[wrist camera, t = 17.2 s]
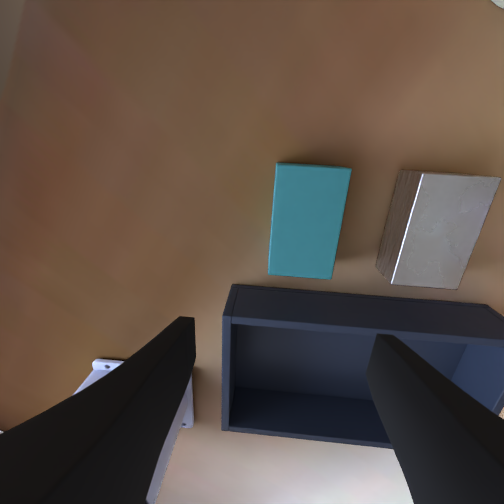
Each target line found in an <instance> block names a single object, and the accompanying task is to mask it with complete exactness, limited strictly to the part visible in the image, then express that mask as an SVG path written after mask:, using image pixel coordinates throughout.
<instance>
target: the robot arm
mask: <svg viewBox="0 0 504 504" xmlns="http://www.w3.org/2000/svg"><path fill="white" fill-rule="evenodd" d="M195 359H196V345H195V320H194V317H182V316H179V317H178V318H177V319H176V320H174V321H173V322H172V323H171V324H170V325H169V326H167V327H166V328H165V329H164V330H163V331H162V332H160V333H159V334H158V335H157V336H156V337H155V338H153V339H152V340H151V341H150V342H149V343H147V344H146V345H145V346H144V347H142V348H141V349H140V350H139V351H137V352H136V353H135V354H134V355H132V356H131V357H130V358H128V359H127V360H126V361H116V360H106V359H96V360H95V361H94V362H93V369H94V370H93V371H92V372H91V374H90V375H89V376H88V377H87V379H86V380H85V381H84V382H83V383H82V385H81V386H80V387H79V388H78V390H77V391H76V392H75V393H74V394H73V396H71V397H69V398H67V399H66V400H64V401H62V402H60V403H59V404H57V405H55V406H53V407H52V408H50V409H48V410H46V411H45V412H43V413H41V414H39V415H37V416H35V417H33V418H31V419H29V420H27V421H25V422H24V423H22V424H20V425H18V426H16V427H14V428H12V429H10V430H7V431H5V432H3V433H1V434H0V504H155V502H156V499H157V496H158V493H159V490H160V487H161V484H162V481H163V478H164V475H165V472H166V469H167V466H168V463H169V460H170V457H171V454H172V451H173V448H174V445H175V442H176V439H177V436H178V433H179V430H180V427H183V428H192V427H193V425H194V410H193V390H192V370H193V366H194V363H195ZM366 377H367V380H368V384H369V388H370V391H371V395H372V398H373V401H374V404H375V406H376V409H377V411H378V413H379V416H380V418H381V421H382V423H383V426H384V428H385V430H386V433H387V435H388V437H389V440H390V442H391V445H392V447H393V449H394V452H395V454H396V456H397V459H398V461H399V464H400V466H401V468H402V471H403V474H404V476H405V479H406V481H407V484H408V487H409V490H410V493H411V496H412V499H413V502H414V504H504V419H502V418H501V417H499V416H498V415H496V414H495V413H493V412H492V411H491V410H489V409H488V408H486V407H485V406H484V405H482V404H481V403H480V402H478V401H477V400H476V399H474V398H473V397H471V396H470V395H469V394H467V393H466V392H465V391H463V390H462V389H461V388H459V387H458V386H457V385H456V384H454V383H453V382H452V381H450V380H449V379H448V378H447V377H445V376H444V375H443V374H442V373H440V372H439V371H438V370H437V369H435V368H434V367H433V366H432V365H430V364H429V363H428V362H427V361H425V360H424V359H423V358H422V357H421V356H419V355H418V354H417V353H416V352H414V351H413V350H412V349H411V348H410V347H408V346H407V345H406V344H405V343H403V342H402V341H401V340H399V339H398V338H397V337H395V336H394V335H390V334H378V333H377V335H376V338H375V342H374V346H373V349H372V353H371V356H370V360H369V363H368V367H367V370H366Z"/></svg>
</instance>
